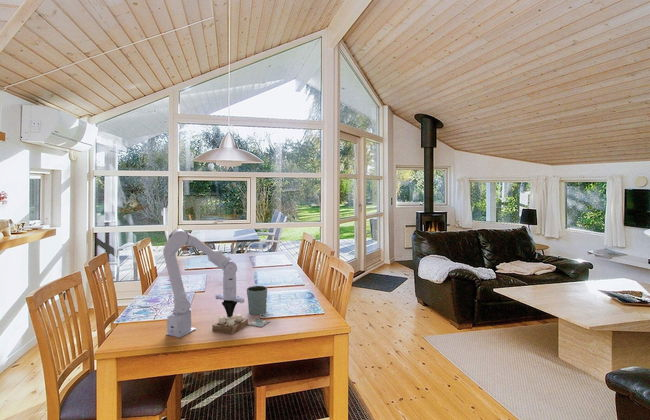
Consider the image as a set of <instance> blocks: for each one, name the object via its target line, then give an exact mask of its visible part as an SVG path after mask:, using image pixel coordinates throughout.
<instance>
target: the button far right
mask: <svg viewBox="0 0 650 420" xmlns="http://www.w3.org/2000/svg"><path fill="white" fill-rule="evenodd" d="M235 317H236V322H238V323H240V322H242V318H243V314H241V313H237V314H235Z"/></svg>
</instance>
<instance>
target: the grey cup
mask: <svg viewBox="0 0 650 420" xmlns="http://www.w3.org/2000/svg"><path fill="white" fill-rule="evenodd" d="M246 297H247V306H248V314H249V315H252V316H261V315H260V314H262V315H264V314H266V313H265V312H267V306H268V305H267V303H268V302H267V300H268V299H267V298H268V287H267V286H265V285H253V286H250V287H248V288H246ZM263 313H264V314H263Z"/></svg>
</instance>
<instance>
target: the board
mask: <svg viewBox="0 0 650 420" xmlns="http://www.w3.org/2000/svg"><path fill="white" fill-rule="evenodd" d="M233 318H234V326H233V327H228V320H227V317H225V324H224V325H219V321H218V322H216V323H213V324H212V325H211V326H212V330H211V331H212V332H213V331H214V332H218V333H223V334H227V335H233V334H234V333H236V332H238V331H239V330H241V329H243V328H244V327H246V326H249V325H248V324H249V319H248V318H243V317H242V322H240V323H238V322H236V316H234V315H233Z"/></svg>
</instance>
